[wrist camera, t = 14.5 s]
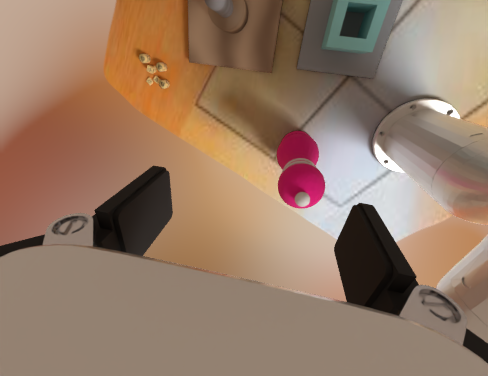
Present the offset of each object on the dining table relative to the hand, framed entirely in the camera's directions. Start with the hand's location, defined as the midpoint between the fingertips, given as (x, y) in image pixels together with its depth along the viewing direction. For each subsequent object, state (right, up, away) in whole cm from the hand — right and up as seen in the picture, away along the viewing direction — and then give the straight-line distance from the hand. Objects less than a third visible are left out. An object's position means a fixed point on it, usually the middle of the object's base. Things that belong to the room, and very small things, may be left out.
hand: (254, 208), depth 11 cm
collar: (+15, +24, +20) cm, 35 cm away
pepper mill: (+10, +9, +31) cm, 34 cm away
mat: (+15, +25, +21) cm, 35 cm away
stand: (-2, +28, +22) cm, 36 cm away
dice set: (-16, +23, +29) cm, 40 cm away
